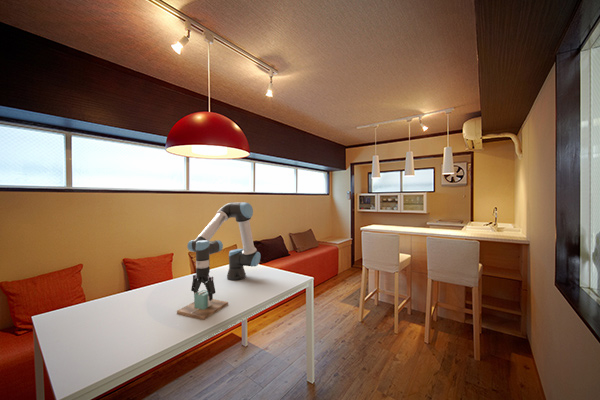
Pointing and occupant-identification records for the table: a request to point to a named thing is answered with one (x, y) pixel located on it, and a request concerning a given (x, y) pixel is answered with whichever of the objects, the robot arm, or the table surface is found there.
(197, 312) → the wooden peg board
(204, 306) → the teal rectangular block
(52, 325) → the table surface
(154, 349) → the table surface
